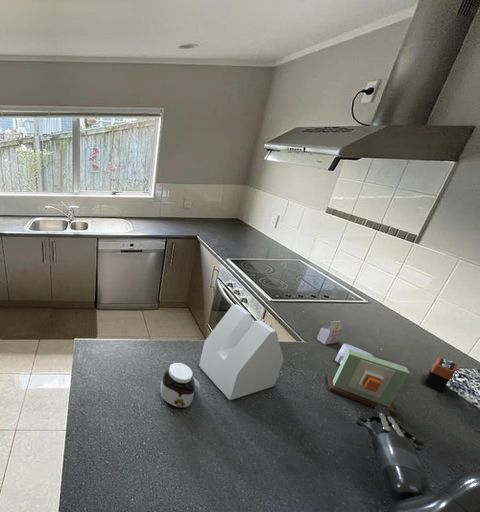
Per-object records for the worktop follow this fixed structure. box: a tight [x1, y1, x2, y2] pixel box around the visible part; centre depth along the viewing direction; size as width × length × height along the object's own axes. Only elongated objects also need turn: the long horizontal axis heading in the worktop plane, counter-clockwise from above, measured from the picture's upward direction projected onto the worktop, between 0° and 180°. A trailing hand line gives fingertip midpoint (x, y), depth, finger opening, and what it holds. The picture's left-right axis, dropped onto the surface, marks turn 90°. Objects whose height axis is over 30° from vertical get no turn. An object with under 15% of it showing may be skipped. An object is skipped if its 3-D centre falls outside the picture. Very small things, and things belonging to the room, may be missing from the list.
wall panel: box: [326, 349, 411, 415], centre depth 91 cm, size 16×8×15 cm, turn 57°
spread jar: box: [160, 362, 201, 409], centre depth 89 cm, size 12×11×12 cm
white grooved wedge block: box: [198, 303, 285, 401], centre depth 95 cm, size 19×15×25 cm
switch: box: [364, 376, 381, 392], centre depth 87 cm, size 3×2×4 cm
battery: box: [423, 357, 458, 392], centre depth 98 cm, size 4×7×10 cm, turn 124°
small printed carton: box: [316, 320, 343, 346], centre depth 118 cm, size 4×7×10 cm, turn 103°
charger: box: [334, 343, 375, 366], centre depth 105 cm, size 5×9×15 cm
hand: (380, 408), depth 79 cm, fingers closed
